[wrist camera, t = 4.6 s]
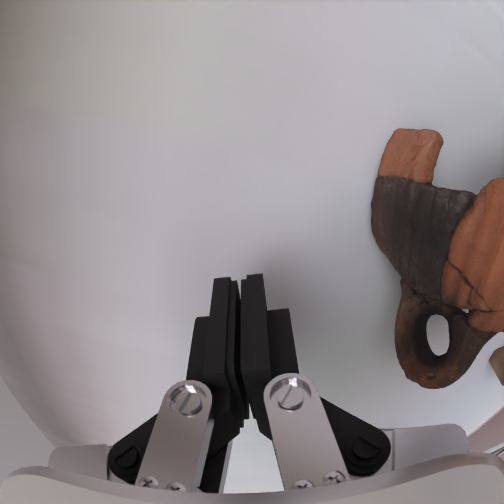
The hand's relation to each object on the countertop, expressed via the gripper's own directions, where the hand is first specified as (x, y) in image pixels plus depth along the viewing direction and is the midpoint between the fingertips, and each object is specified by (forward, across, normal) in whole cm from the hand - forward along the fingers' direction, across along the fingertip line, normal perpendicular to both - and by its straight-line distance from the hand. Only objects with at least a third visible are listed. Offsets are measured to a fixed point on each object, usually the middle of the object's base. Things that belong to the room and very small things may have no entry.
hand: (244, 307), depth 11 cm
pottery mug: (+3, -10, -1) cm, 10 cm away
